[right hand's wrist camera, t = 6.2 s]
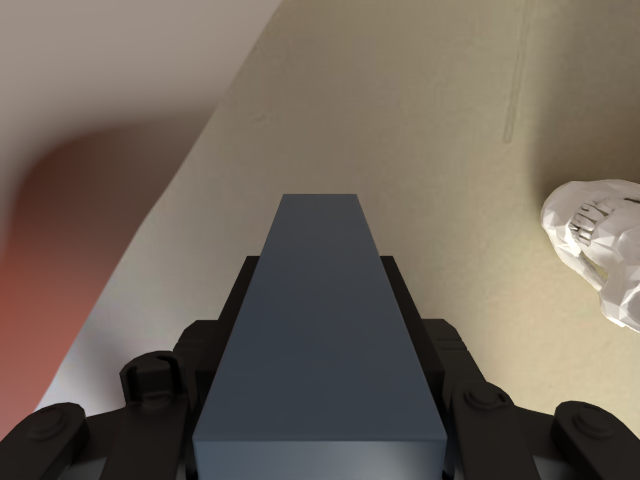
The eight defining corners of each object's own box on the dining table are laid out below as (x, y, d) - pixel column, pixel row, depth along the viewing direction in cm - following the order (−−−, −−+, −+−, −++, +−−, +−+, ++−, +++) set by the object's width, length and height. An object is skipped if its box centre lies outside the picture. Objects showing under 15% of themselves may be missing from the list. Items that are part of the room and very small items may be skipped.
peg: (356, 193, 21) (449, 437, 6) (354, 261, 22) (425, 597, 7) (282, 193, 21) (189, 437, 6) (285, 261, 22) (213, 597, 7)
